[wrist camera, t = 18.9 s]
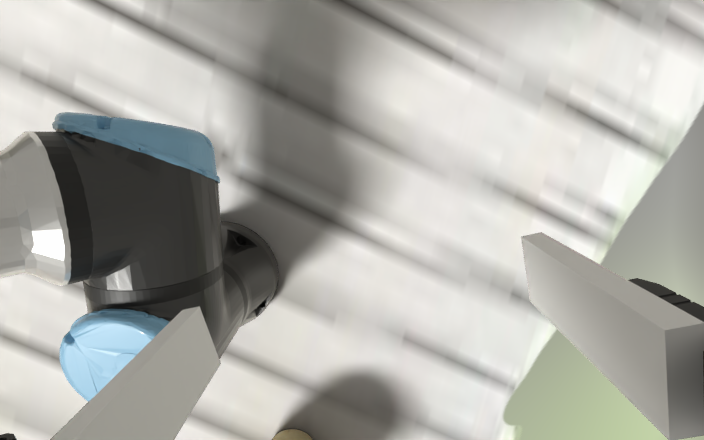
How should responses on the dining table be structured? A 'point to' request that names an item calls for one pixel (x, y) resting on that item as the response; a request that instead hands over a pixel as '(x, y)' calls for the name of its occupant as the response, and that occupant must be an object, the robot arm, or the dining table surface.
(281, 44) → the dining table surface
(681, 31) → the dining table surface
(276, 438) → the plant pot
